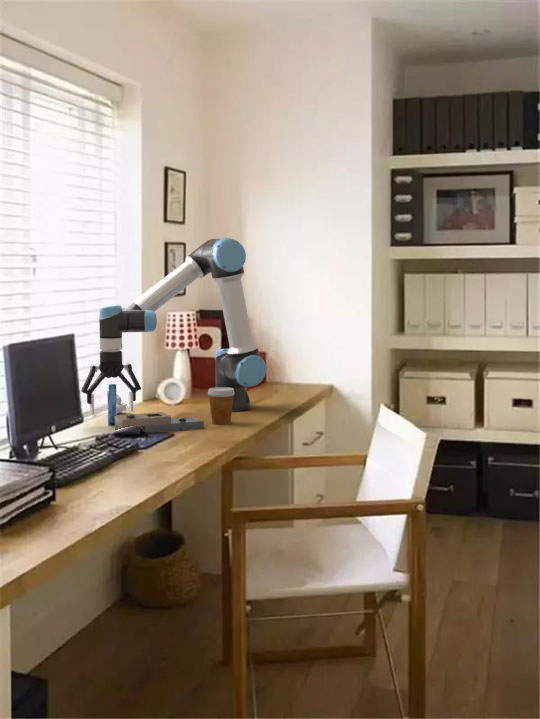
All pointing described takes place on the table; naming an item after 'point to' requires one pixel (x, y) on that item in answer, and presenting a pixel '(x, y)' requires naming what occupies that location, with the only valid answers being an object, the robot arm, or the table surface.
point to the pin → (111, 404)
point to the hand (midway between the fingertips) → (111, 412)
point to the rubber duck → (120, 405)
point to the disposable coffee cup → (221, 404)
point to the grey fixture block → (158, 422)
